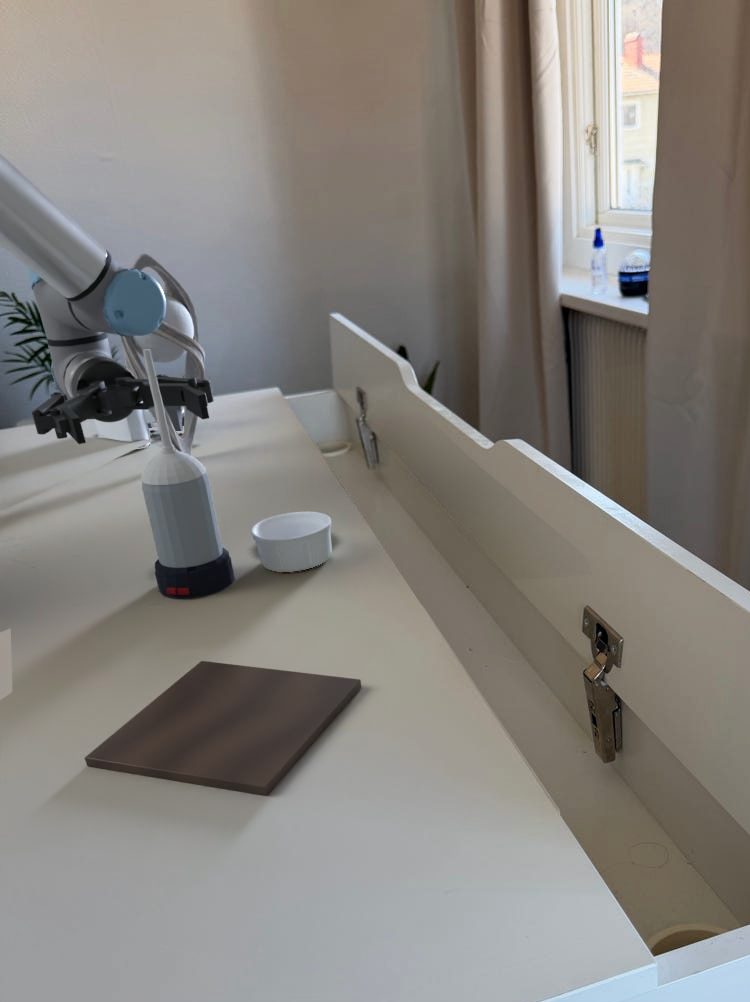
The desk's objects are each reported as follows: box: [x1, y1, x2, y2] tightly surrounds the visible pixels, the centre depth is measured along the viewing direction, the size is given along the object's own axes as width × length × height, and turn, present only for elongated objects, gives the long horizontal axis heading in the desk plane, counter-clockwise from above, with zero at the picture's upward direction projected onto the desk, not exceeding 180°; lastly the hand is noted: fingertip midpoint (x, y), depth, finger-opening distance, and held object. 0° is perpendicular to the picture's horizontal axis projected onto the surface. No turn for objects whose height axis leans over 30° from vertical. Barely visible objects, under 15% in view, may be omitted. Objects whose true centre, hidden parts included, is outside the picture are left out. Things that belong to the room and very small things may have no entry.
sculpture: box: [118, 253, 206, 456], centre depth 144 cm, size 12×12×30 cm
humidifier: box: [140, 349, 236, 600], centre depth 101 cm, size 8×8×25 cm
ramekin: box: [250, 511, 333, 573], centre depth 110 cm, size 9×9×4 cm
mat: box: [84, 660, 362, 796], centre depth 79 cm, size 16×16×1 cm
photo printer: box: [93, 401, 152, 448], centre depth 159 cm, size 10×4×12 cm, turn 55°
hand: (143, 418), depth 107 cm, fingers open, 13 cm apart
